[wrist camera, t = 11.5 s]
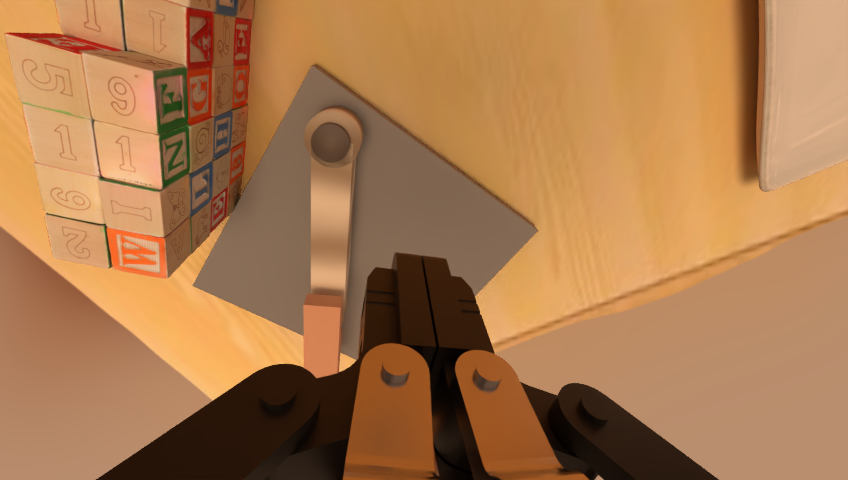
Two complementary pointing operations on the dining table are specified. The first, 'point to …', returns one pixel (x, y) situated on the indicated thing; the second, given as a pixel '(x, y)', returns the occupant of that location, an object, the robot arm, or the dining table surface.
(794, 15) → the square plate
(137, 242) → the stack of blocks
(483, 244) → the board
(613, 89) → the dining table surface
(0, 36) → the dining table surface
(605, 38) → the dining table surface
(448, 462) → the robot arm
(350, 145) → the arm link
